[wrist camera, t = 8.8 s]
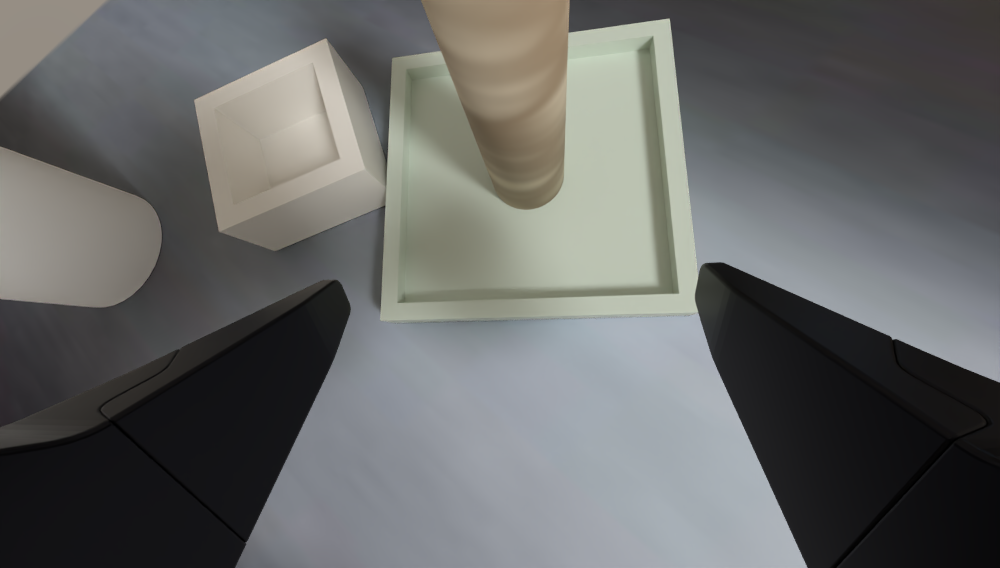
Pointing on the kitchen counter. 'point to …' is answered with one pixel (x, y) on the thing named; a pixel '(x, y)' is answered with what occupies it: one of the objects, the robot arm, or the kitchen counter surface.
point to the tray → (558, 224)
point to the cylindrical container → (71, 236)
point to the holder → (291, 149)
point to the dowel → (510, 88)
